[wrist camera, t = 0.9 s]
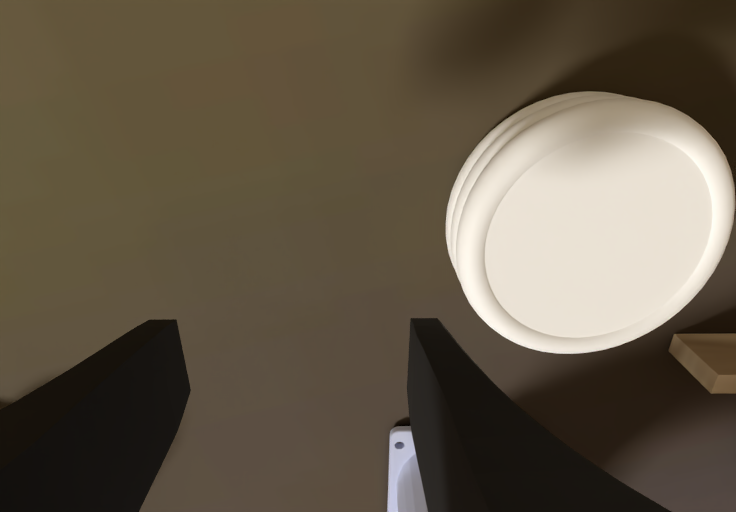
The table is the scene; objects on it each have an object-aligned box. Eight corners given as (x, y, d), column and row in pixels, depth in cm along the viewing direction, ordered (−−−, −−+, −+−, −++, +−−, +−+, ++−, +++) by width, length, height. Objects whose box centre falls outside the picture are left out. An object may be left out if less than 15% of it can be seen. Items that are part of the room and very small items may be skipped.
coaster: (449, 93, 17) (468, 104, 14) (710, 86, 17) (788, 95, 14) (438, 316, 22) (451, 363, 18) (648, 310, 22) (698, 357, 19)
